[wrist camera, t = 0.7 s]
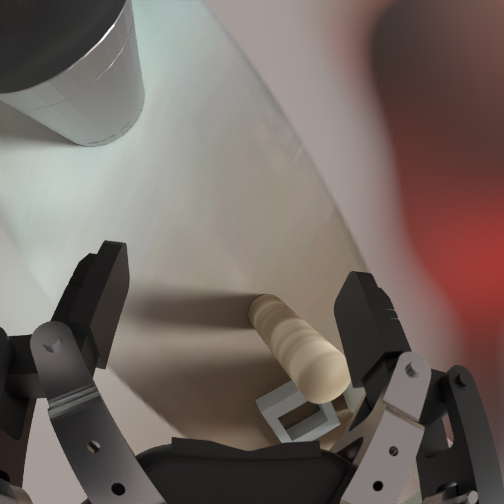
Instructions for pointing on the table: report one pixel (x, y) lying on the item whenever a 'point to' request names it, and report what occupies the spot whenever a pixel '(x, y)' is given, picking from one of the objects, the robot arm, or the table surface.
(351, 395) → the socket stand
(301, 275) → the table surface
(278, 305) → the peg
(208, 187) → the table surface
